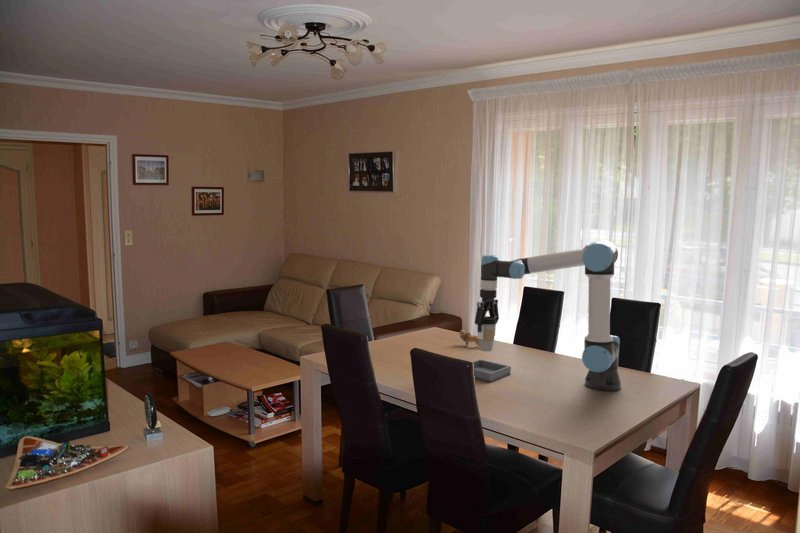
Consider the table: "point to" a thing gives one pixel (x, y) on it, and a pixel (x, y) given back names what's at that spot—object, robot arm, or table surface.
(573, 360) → the table surface
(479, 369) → the bin
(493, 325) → the coffee cup
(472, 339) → the lion figurine
